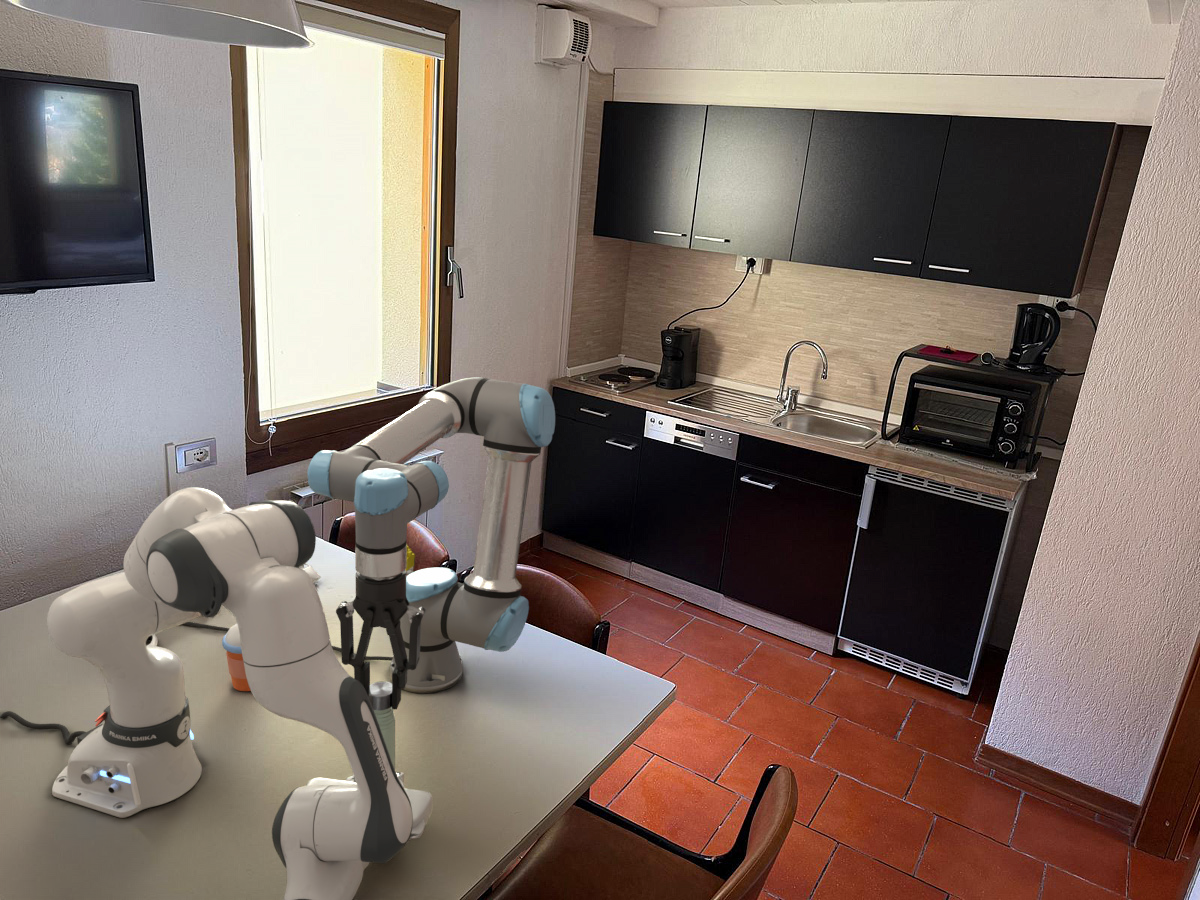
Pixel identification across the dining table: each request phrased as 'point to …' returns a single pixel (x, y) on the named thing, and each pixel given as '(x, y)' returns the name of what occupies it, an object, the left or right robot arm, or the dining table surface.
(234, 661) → the cup with straw
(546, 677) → the dining table surface
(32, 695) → the dining table surface
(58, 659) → the dining table surface
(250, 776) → the dining table surface
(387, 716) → the bottle
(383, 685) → the cap
